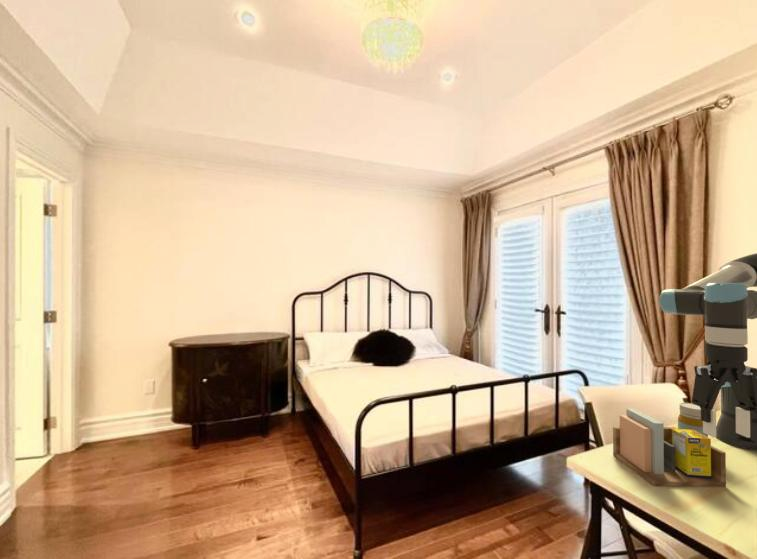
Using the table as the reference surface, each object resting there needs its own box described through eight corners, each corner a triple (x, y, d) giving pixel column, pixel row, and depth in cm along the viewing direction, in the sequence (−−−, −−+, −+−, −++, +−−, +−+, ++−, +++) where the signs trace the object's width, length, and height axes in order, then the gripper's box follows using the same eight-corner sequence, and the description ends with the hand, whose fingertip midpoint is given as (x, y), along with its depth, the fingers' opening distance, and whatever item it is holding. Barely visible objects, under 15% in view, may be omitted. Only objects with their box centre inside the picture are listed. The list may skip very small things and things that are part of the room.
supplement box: (711, 479, 92) (711, 438, 92) (687, 477, 92) (687, 437, 92) (694, 467, 98) (694, 429, 98) (671, 465, 98) (671, 428, 98)
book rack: (674, 456, 106) (674, 427, 106) (725, 486, 90) (725, 452, 90) (613, 455, 107) (613, 426, 107) (653, 485, 91) (653, 452, 91)
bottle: (711, 461, 103) (710, 411, 104) (680, 454, 107) (680, 407, 107) (704, 451, 109) (704, 404, 109) (675, 445, 113) (675, 400, 113)
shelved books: (634, 454, 105) (634, 408, 105) (663, 474, 94) (663, 423, 94) (619, 453, 105) (619, 408, 105) (647, 473, 94) (647, 423, 94)
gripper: (750, 341, 89) (751, 428, 89) (671, 341, 89) (672, 428, 89) (784, 346, 81) (785, 442, 81) (698, 346, 82) (698, 441, 81)
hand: (726, 434), depth 85 cm, fingers open, 8 cm apart
